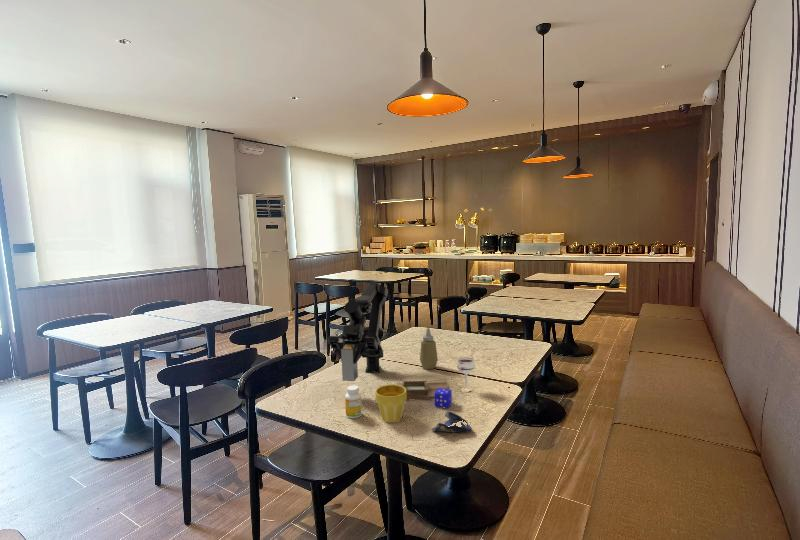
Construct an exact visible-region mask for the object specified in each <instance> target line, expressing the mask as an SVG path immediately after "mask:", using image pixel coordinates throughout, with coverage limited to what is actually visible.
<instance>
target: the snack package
mask: <svg viewBox="0 0 800 540" xmlns="http://www.w3.org/2000/svg"><path fill="white" fill-rule="evenodd" d="M444 417H446V418H447V419H448V420H446V421H443V422H438V424H436V426H435V427H433V428H431V430H432V432H433V431H434V432H435V431H441V432H449V433H458V432H462V431H468V432H472V430H473V427H472V426H471V425H469V423H468V421H467V420H466V419H464V418H463V417H462V416H461V415H459V414H458V413H455V412H453V411H449V410H447V411H446V412H445V413H444ZM462 420H463V422H464V421H465V422H466V423H467V425H466V424H465V425H466V426H465V425H464V424H463V423H461V425H462V426H461V427H458V426H456V424H455V425H454V426H450V425H452V424H453V423H457V422H459V421H462ZM448 426H450V427H448Z"/></svg>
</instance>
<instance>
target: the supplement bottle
mask: <svg viewBox="0 0 800 540" xmlns="http://www.w3.org/2000/svg"><path fill="white" fill-rule="evenodd" d="M344 400H345V401H344V403H345V405H344V406H345V416H346V417H347V418H349V419H357V418H359V417H360V418H361V416H362V414H363V413H362V409H363V407H362V394H361V393H360V389H359V386H358V385H349V386H347V387H346V394H345V395H344Z"/></svg>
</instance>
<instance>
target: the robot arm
mask: <svg viewBox="0 0 800 540" xmlns="http://www.w3.org/2000/svg"><path fill="white" fill-rule="evenodd" d="M388 292H389V291H388V289H387V288H386V286H384V285H381V284H380V283H379V282H368V283H367V284H366V288H365V289H364V291H363V292H362V294H361V295H360V296H357V297H355V298H350V300H349V301H347V302H346V303H345V305H344V306H343V310H344V312H345V314H346V315H347V318H348V320H349V321H350V322H349V325H345V324H344V325H343V326H342V335H344V338H346V339H344V338H341V337H340V335H330V336H329V337H327V338H328V339H327V343H328V344H329V346H330V348H332V349H338V351H339V353H340V354H341V349H342V348H343V347H344V346H345V345H354V346H357V352H356V355H355V359H354V364H356V363H357V364H358V361H359V360H360V359H361V358H363V359H364V358H366V367H365V371H364V372H365V373H380V372H381V369H382V368H381V367H382V366H381V365H380V359H381V358H384V349H383V347H382V345H381V340H380V338H379V330H380V321H381V315H382V314H381V313H382V307H383V306H384V304H385V303H386V302H387V297H388V296H389V293H388ZM365 314H370V315H369V322H368V330H367V334H366V335H365V336H364V333H365V332H364V329H365V324H366V323H367V318H366V315H365ZM340 362H341V363H342V357H341V356H340Z"/></svg>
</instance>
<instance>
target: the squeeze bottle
mask: <svg viewBox="0 0 800 540" xmlns="http://www.w3.org/2000/svg"><path fill="white" fill-rule="evenodd" d="M437 351H438V350H437V344H436V341H435V340H434V335H432V334H431V329H430V328H429V327H428V328H426V330H425V334H424V335H423V336H422V341H421V343H420V353H419V354H420V355H419V361H420V365H421V366H422V369H425V370H433V369H435V368H436V367H437V364H438V360H439V359H438V352H437Z"/></svg>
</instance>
